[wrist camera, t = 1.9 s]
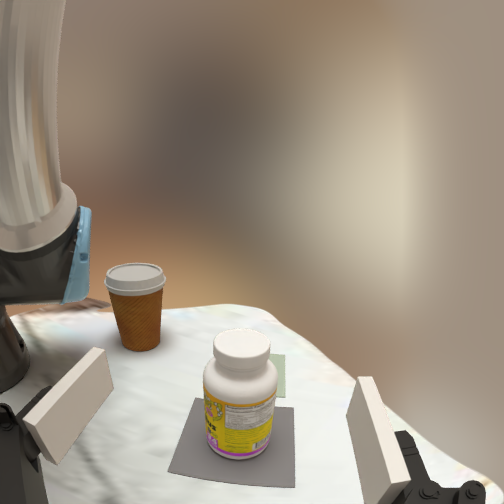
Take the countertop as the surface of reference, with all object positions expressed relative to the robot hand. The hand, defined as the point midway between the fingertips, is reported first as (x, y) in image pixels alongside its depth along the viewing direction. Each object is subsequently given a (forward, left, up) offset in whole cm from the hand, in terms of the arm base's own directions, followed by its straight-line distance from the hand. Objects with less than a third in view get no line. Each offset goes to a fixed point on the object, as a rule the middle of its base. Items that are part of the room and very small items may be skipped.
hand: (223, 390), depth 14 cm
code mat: (0, +10, -16) cm, 19 cm away
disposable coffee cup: (-18, +27, -16) cm, 36 cm away
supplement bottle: (0, +10, -16) cm, 19 cm away
